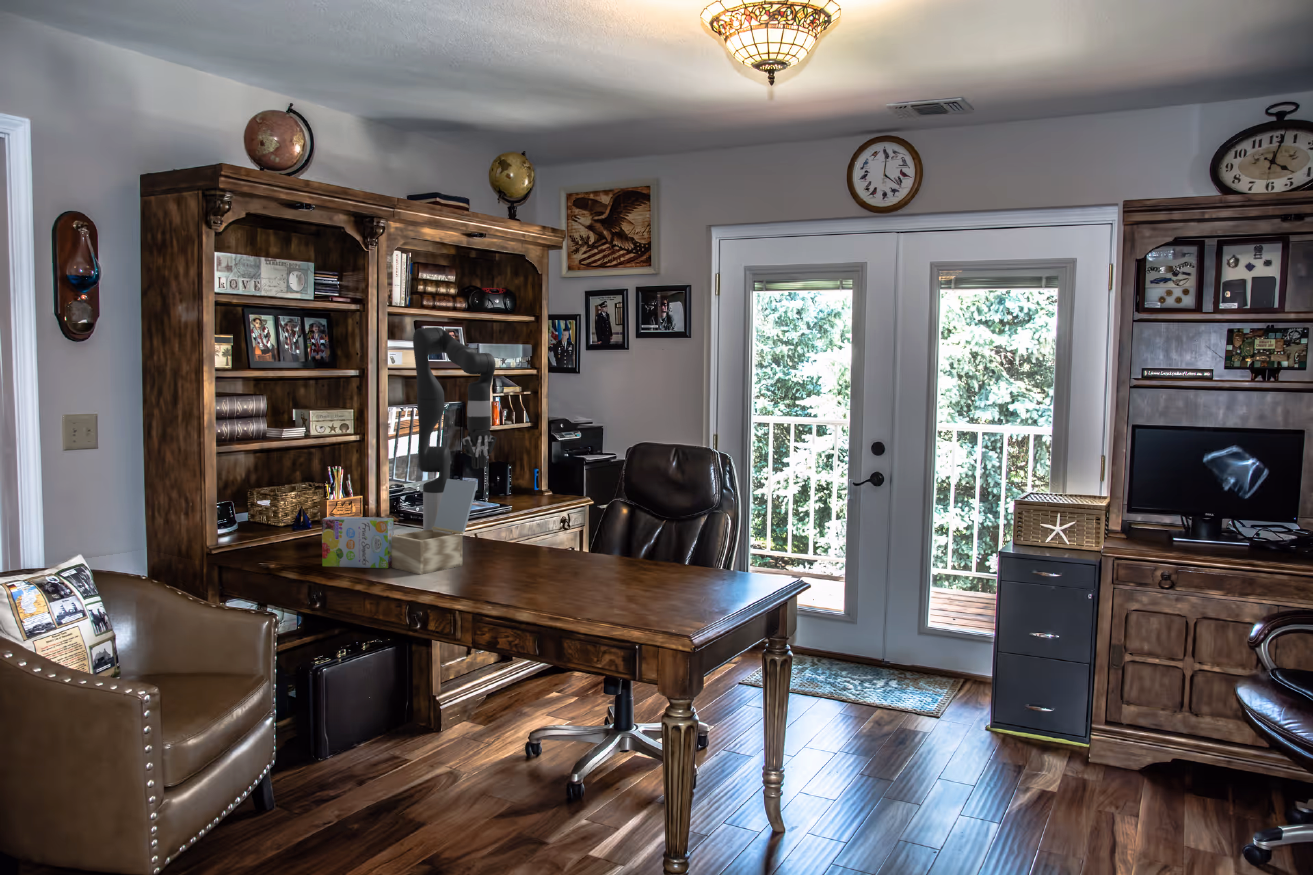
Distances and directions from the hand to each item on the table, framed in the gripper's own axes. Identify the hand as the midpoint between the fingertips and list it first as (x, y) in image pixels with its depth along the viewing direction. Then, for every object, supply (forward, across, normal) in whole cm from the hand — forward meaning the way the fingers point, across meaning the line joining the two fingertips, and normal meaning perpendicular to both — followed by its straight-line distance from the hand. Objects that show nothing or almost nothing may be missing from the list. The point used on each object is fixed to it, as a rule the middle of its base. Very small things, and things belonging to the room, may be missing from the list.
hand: (479, 467), depth 303 cm
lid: (+11, +11, 0) cm, 15 cm away
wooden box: (+29, +21, 0) cm, 36 cm away
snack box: (+29, +34, -17) cm, 48 cm away
